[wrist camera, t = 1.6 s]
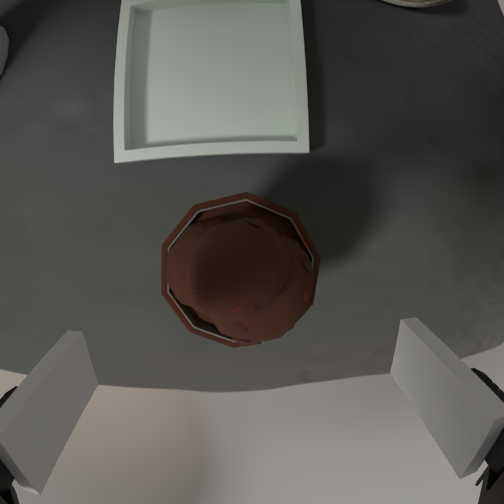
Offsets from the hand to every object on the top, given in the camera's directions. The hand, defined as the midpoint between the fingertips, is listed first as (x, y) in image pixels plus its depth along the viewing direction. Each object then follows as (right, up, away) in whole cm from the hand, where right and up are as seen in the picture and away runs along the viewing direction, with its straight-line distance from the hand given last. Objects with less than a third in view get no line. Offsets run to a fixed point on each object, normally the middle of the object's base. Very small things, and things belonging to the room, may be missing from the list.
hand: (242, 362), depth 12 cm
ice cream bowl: (-1, +5, +19) cm, 20 cm away
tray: (-4, +21, +14) cm, 26 cm away
